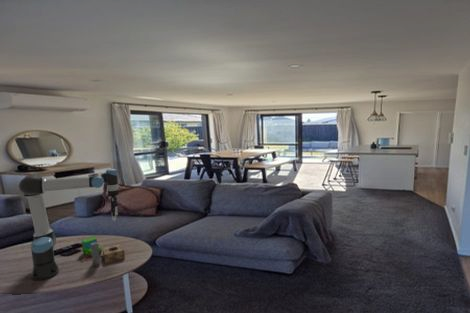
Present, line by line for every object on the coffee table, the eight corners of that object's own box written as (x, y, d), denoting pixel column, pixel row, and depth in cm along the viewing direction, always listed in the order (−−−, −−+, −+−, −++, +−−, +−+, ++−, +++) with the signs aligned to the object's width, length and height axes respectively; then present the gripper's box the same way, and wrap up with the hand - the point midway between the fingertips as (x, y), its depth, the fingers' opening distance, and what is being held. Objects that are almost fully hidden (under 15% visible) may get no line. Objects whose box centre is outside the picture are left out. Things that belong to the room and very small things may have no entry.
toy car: (90, 258, 213) (88, 245, 212) (81, 253, 221) (80, 241, 220) (103, 253, 221) (102, 240, 220) (94, 249, 229) (93, 236, 228)
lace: (81, 262, 206) (80, 261, 206) (79, 260, 209) (79, 259, 209) (106, 254, 217) (106, 254, 217) (105, 253, 220) (105, 252, 220)
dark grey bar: (93, 266, 200) (91, 245, 199) (92, 263, 204) (90, 243, 202) (100, 264, 202) (98, 243, 201) (99, 262, 206) (97, 241, 205)
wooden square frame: (105, 262, 205) (104, 254, 204) (103, 255, 216) (102, 248, 215) (124, 258, 211) (124, 250, 210) (121, 251, 222) (121, 243, 222)
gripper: (116, 193, 207) (119, 222, 209) (119, 186, 231) (121, 212, 233) (105, 194, 205) (107, 223, 207) (109, 187, 229) (111, 213, 231)
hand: (115, 217), depth 220 cm, fingers open, 13 cm apart
